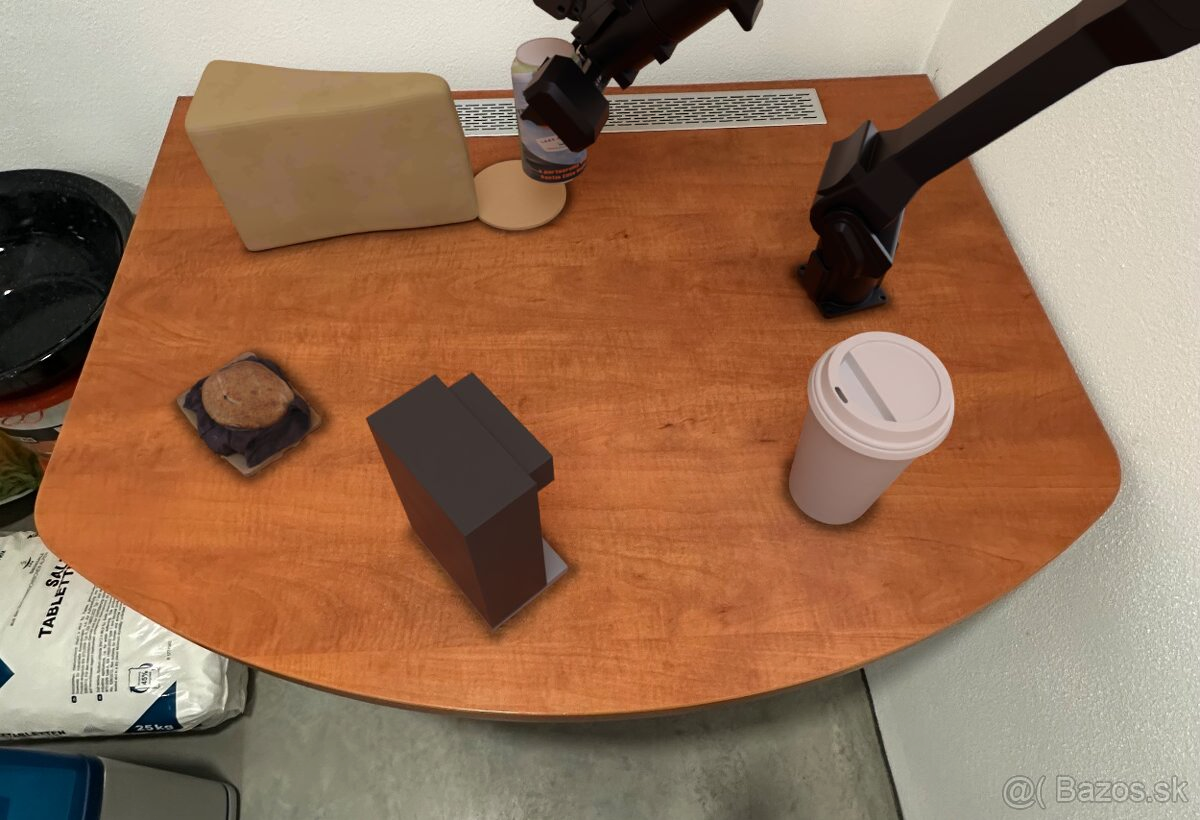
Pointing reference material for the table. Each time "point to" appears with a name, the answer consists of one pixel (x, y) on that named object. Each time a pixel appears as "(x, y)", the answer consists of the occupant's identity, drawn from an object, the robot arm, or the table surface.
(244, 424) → the bread roll
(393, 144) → the tan wedge block
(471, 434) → the coffee machine
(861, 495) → the coffee cup
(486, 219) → the coaster
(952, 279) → the table surface
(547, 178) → the beverage can
